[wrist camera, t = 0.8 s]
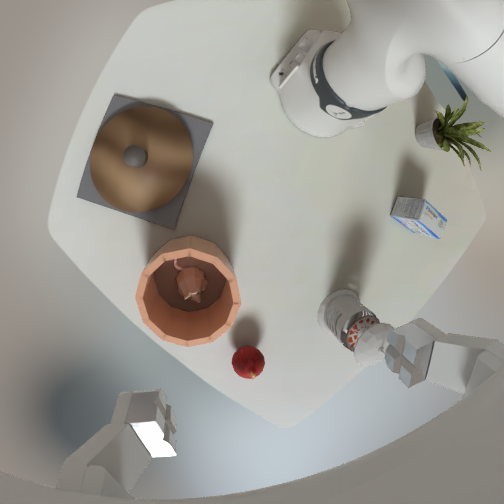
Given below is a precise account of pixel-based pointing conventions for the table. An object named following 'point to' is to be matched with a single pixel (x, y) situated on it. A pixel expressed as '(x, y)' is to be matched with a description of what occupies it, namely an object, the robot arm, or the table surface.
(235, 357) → the red pomegranate
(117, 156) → the lid
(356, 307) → the french press
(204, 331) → the flower pot
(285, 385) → the table surface
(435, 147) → the house plant
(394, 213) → the medicine box
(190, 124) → the mat
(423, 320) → the robot arm
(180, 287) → the mouse figurine
